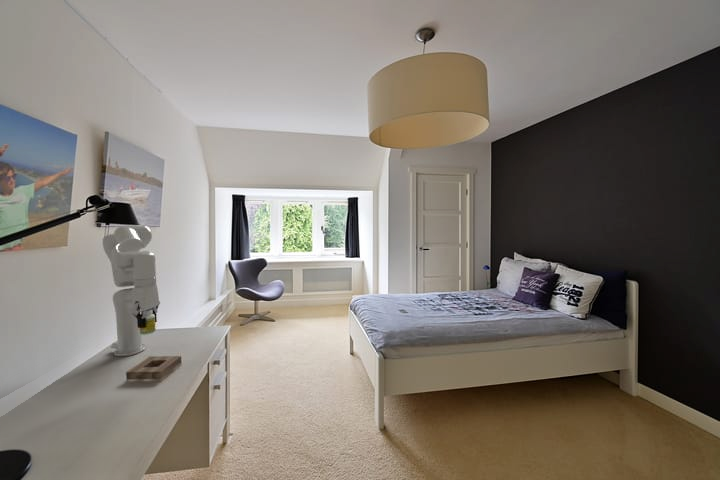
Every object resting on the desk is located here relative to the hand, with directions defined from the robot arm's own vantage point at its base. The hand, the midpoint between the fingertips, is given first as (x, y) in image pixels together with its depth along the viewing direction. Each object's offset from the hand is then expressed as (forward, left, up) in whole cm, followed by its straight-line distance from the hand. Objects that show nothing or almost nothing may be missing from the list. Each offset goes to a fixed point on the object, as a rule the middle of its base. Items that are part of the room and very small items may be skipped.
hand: (147, 324), depth 125 cm
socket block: (+2, +1, -21) cm, 22 cm away
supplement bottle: (0, 0, -4) cm, 4 cm away
